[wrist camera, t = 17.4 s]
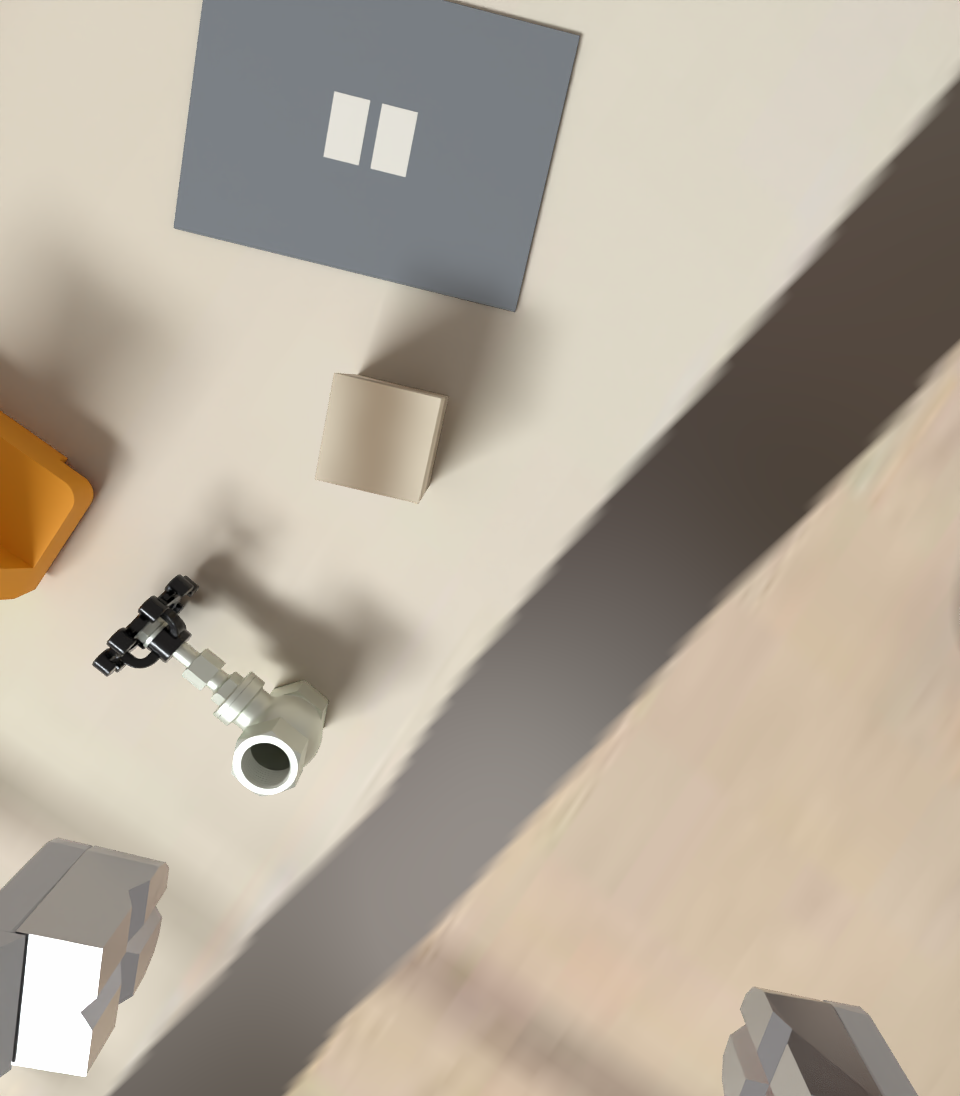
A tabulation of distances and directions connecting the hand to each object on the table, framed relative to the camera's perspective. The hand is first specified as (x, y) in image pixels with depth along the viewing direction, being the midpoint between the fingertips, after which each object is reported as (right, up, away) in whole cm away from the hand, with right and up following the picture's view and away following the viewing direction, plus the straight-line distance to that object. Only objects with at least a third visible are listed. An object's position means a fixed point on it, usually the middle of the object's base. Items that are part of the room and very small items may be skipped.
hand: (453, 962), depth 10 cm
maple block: (-4, +12, +29) cm, 32 cm away
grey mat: (-5, +26, +26) cm, 37 cm away
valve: (-13, -1, +33) cm, 35 cm away
